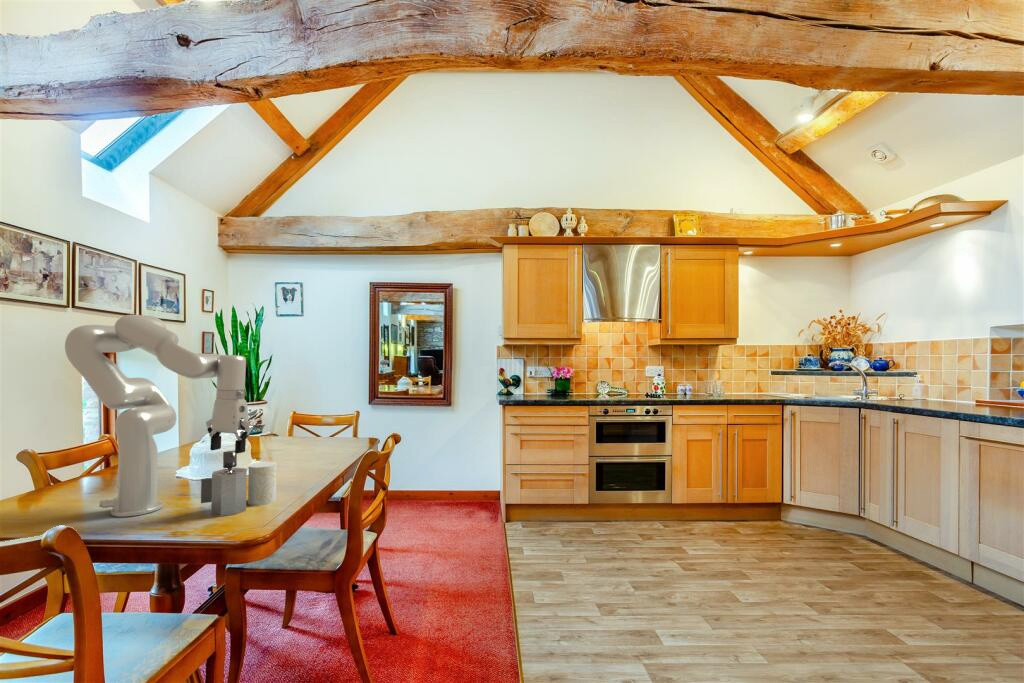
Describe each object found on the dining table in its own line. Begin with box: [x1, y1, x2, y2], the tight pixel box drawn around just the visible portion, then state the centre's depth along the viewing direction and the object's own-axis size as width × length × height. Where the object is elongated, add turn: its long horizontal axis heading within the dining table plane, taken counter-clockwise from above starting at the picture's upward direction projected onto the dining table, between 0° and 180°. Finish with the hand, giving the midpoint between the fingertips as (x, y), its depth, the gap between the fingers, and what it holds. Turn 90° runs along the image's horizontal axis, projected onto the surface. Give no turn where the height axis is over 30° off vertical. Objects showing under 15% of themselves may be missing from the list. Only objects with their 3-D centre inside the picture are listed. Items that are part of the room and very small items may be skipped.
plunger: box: [222, 450, 238, 473], centre depth 148 cm, size 4×4×17 cm
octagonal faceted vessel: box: [200, 467, 248, 517], centre depth 147 cm, size 12×9×12 cm
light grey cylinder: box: [247, 461, 278, 506], centre depth 157 cm, size 8×8×12 cm
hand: (227, 451), depth 148 cm, fingers open, 9 cm apart
